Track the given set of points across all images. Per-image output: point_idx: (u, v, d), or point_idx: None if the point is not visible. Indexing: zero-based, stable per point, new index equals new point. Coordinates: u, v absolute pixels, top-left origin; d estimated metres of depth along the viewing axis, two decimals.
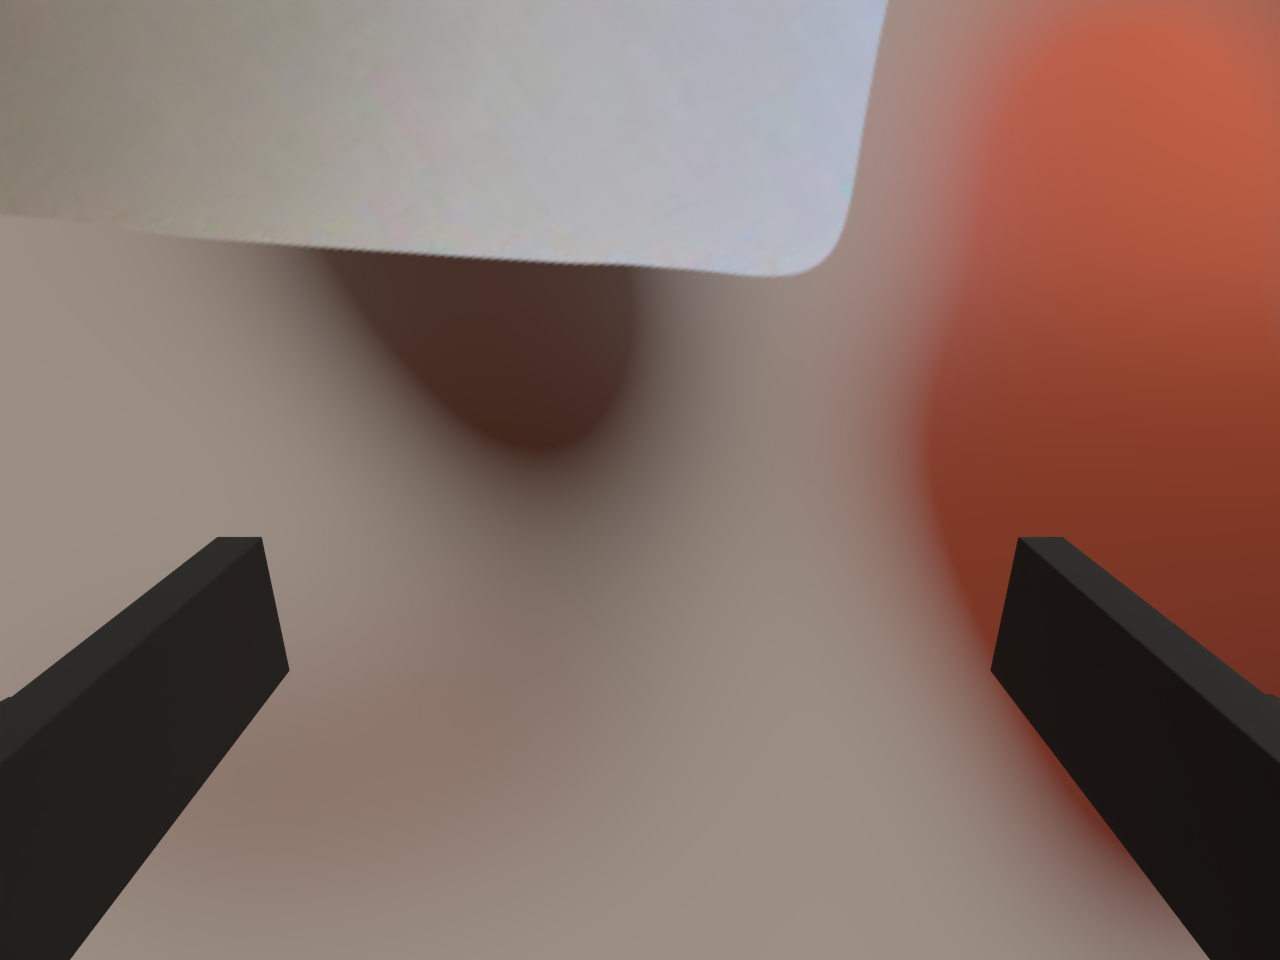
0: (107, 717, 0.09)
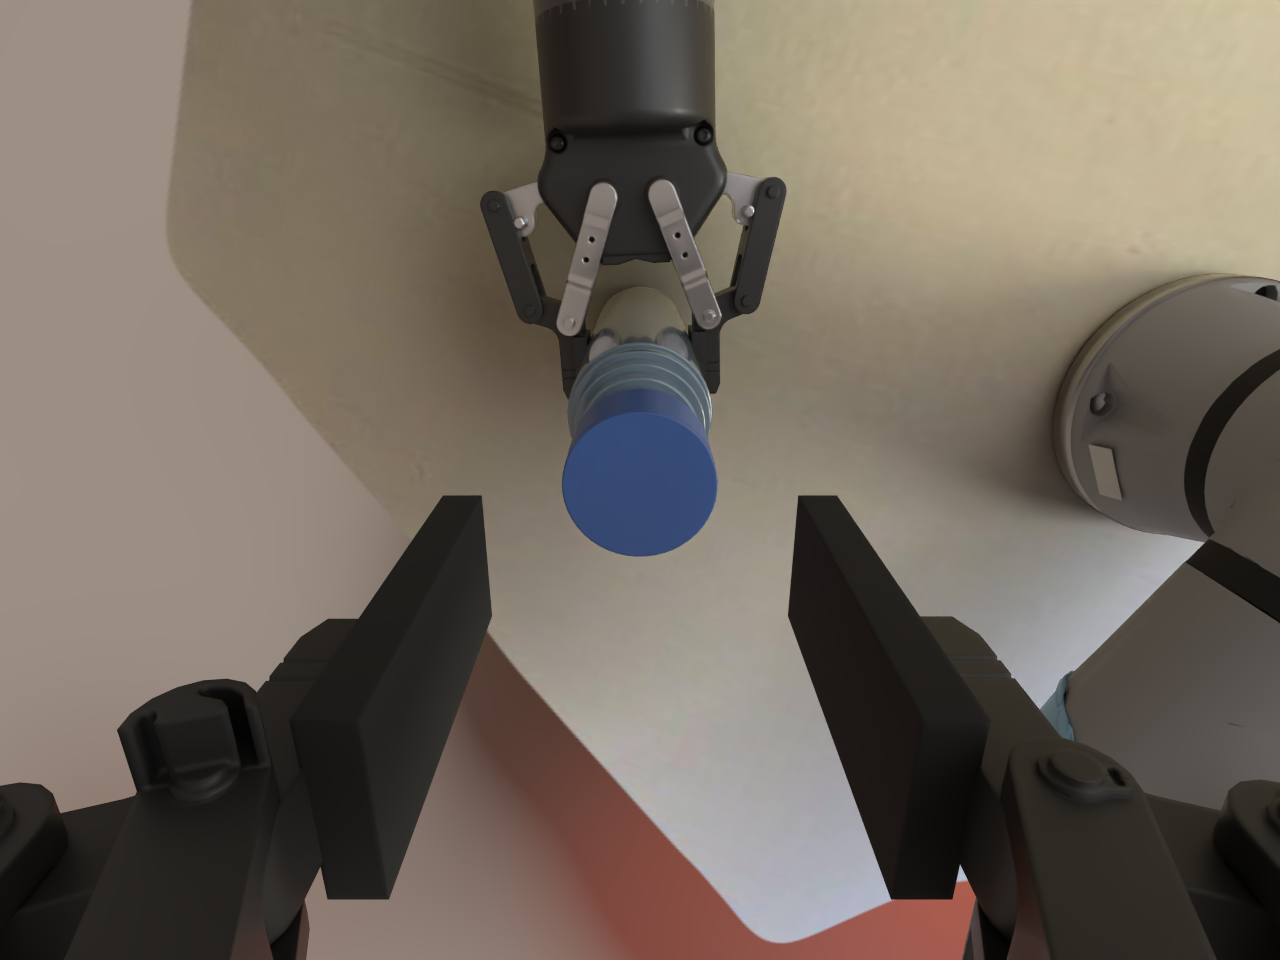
0: (428, 631, 0.10)
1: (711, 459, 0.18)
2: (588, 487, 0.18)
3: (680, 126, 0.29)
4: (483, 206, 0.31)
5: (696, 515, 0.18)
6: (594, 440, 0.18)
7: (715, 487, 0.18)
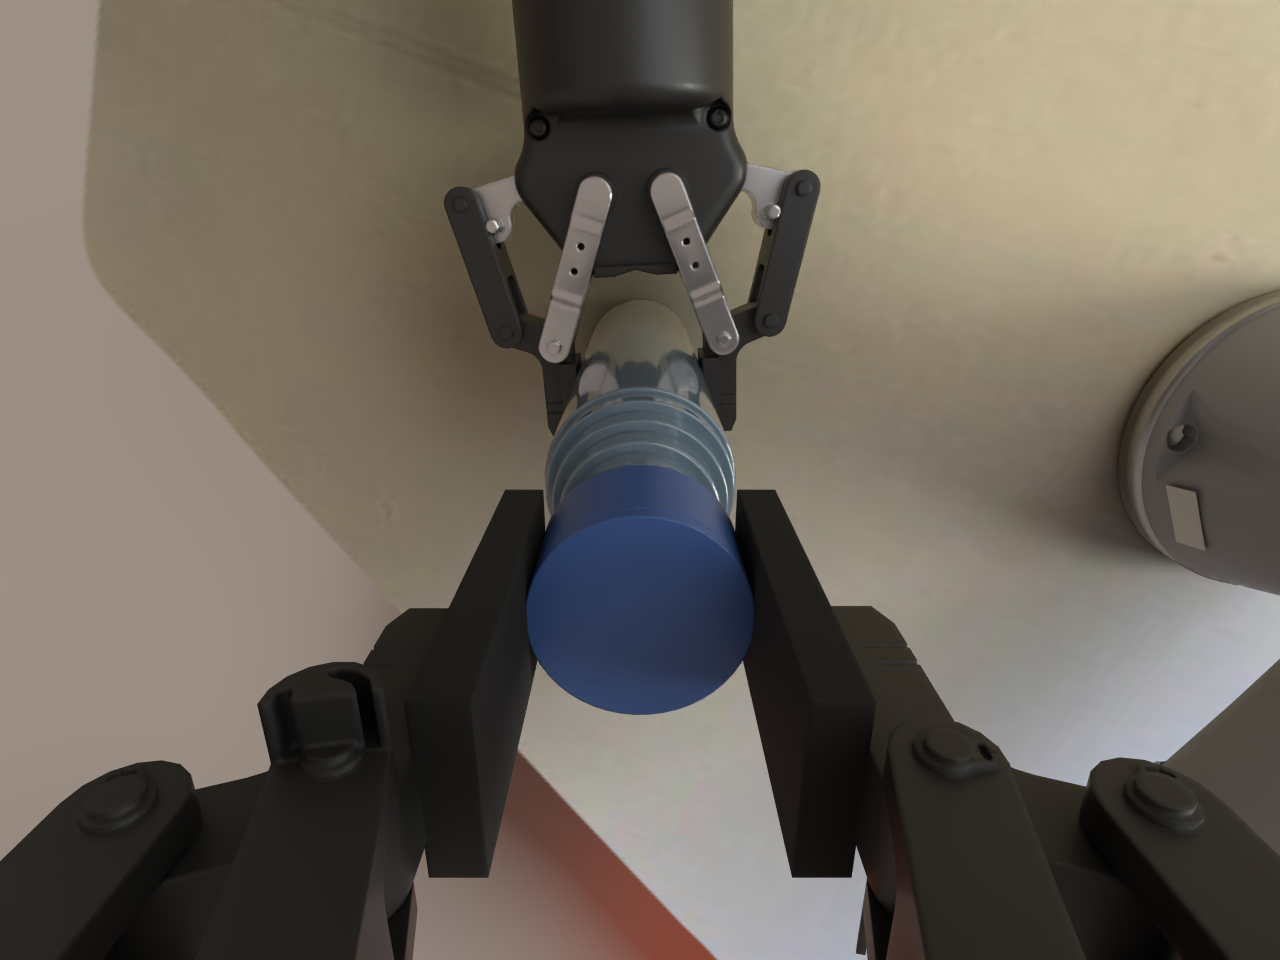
0: (511, 620, 0.11)
1: (747, 583, 0.12)
2: (564, 621, 0.12)
3: (690, 105, 0.23)
4: (447, 205, 0.26)
5: (723, 660, 0.12)
6: (572, 556, 0.12)
7: (752, 621, 0.12)
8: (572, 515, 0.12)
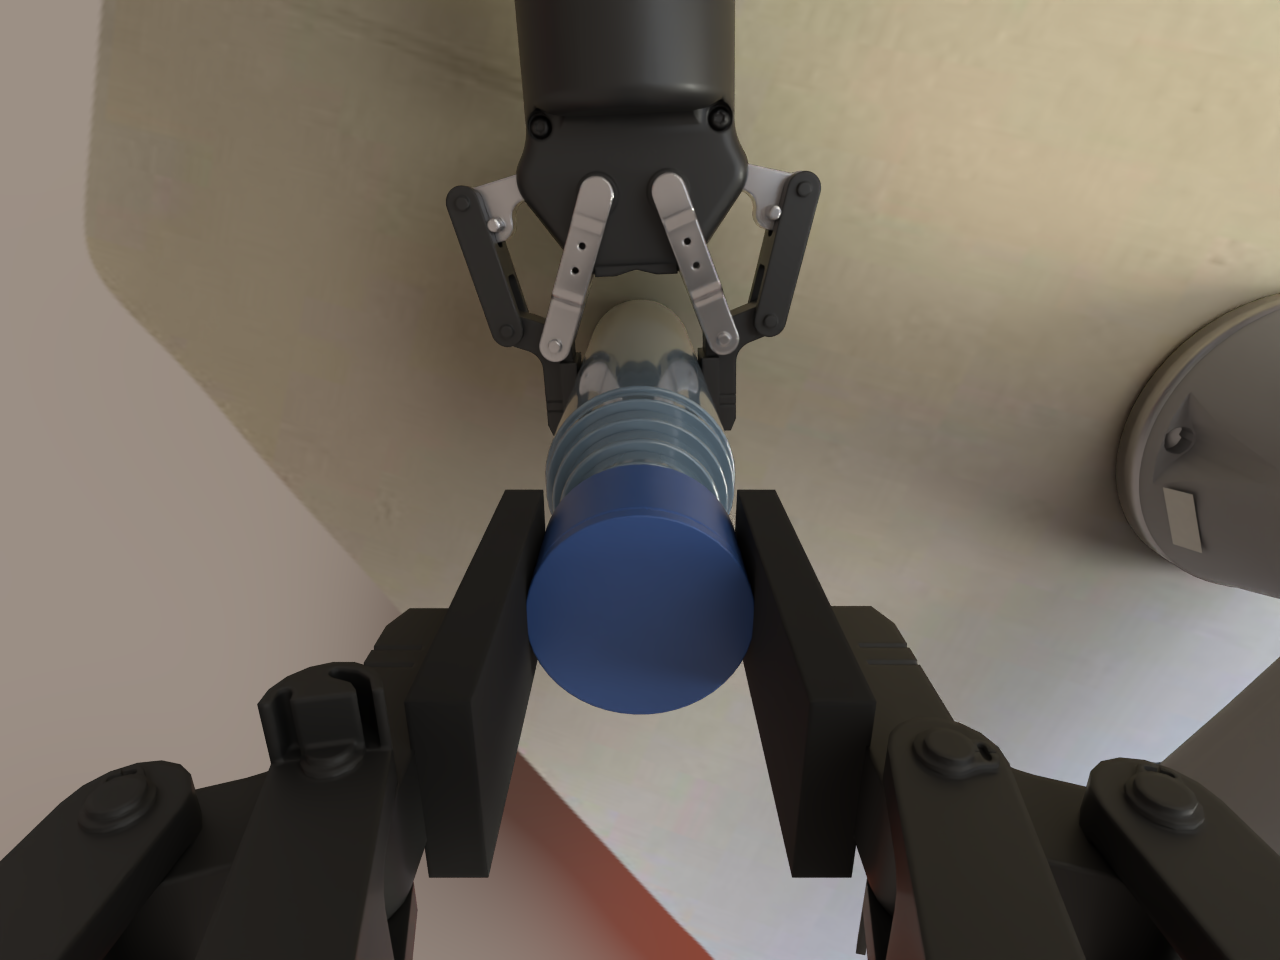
0: (511, 620, 0.11)
1: (594, 525, 0.11)
2: (640, 684, 0.13)
3: (692, 106, 0.23)
4: (449, 204, 0.26)
5: (687, 544, 0.12)
6: (569, 675, 0.13)
7: (641, 517, 0.11)
8: None
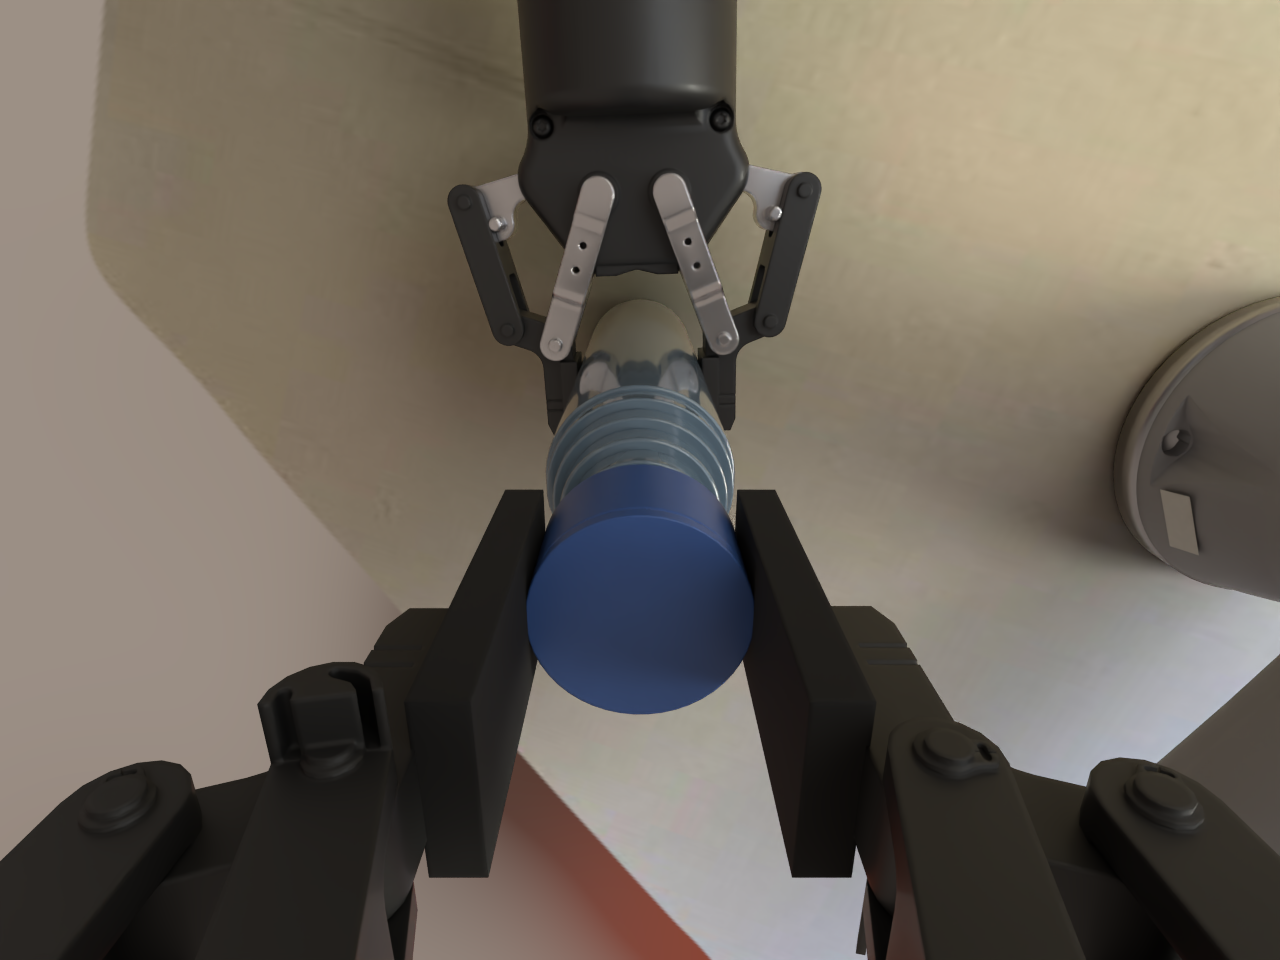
0: (511, 620, 0.11)
1: (537, 658, 0.12)
2: (716, 620, 0.12)
3: (694, 107, 0.23)
4: (451, 203, 0.26)
5: (553, 581, 0.12)
6: (703, 681, 0.13)
7: (528, 619, 0.12)
8: None
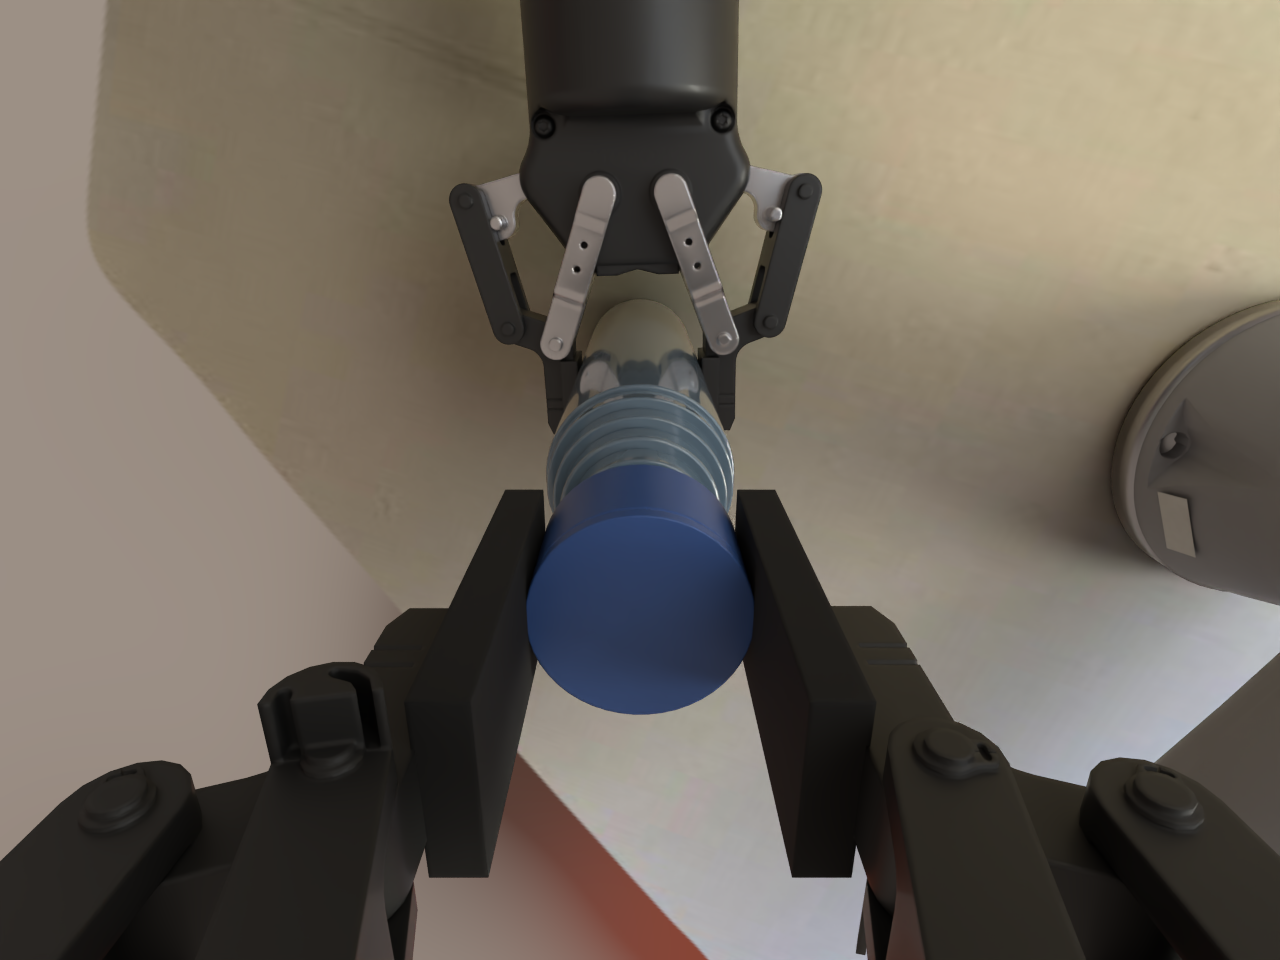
0: (511, 620, 0.11)
1: (681, 707, 0.13)
2: (640, 552, 0.12)
3: (695, 107, 0.24)
4: (452, 202, 0.26)
5: (596, 692, 0.13)
6: (715, 563, 0.12)
7: (638, 712, 0.13)
8: (728, 534, 0.13)
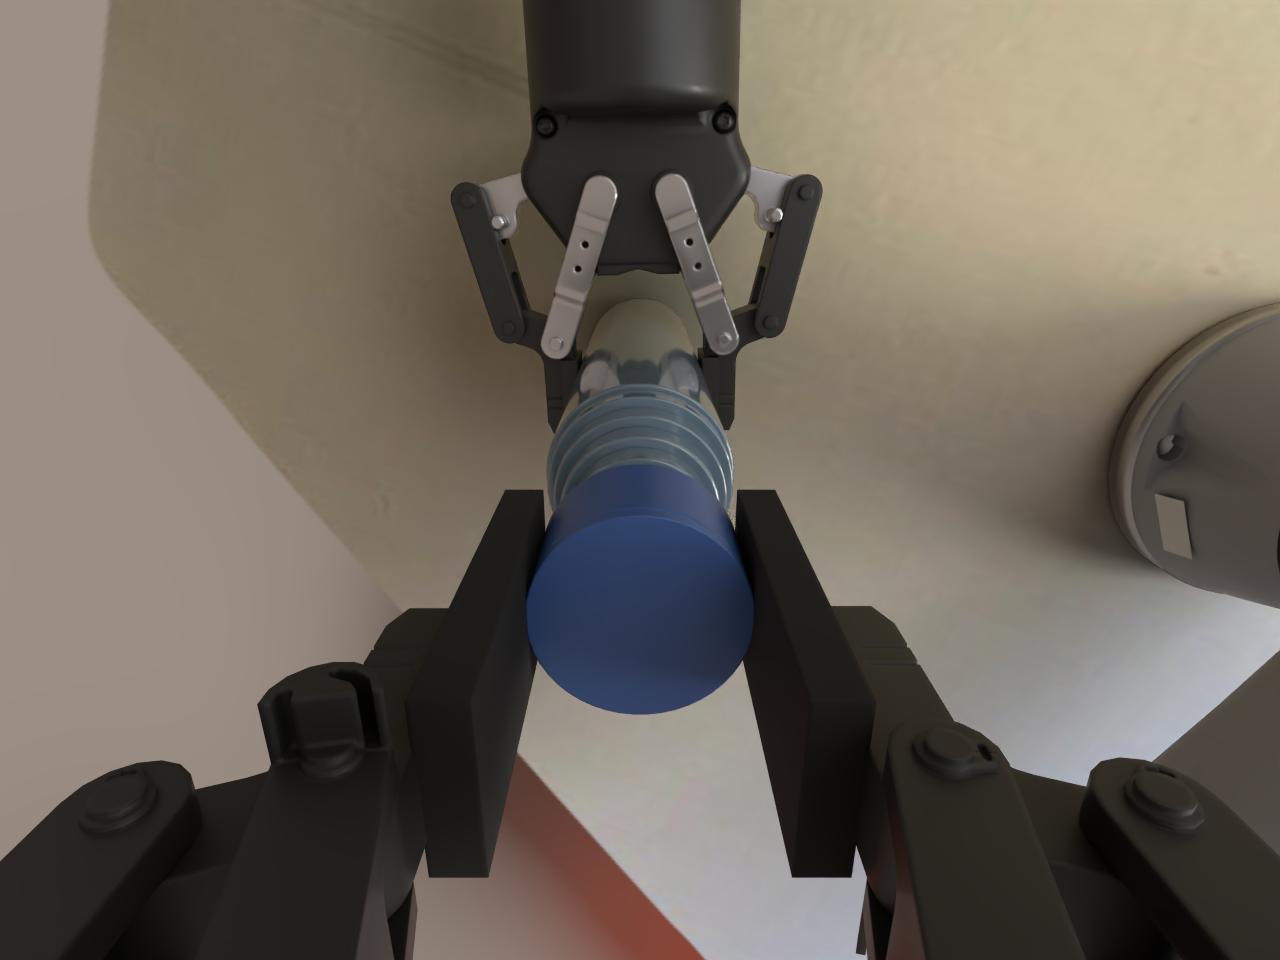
0: (511, 620, 0.11)
1: (747, 583, 0.12)
2: (564, 621, 0.12)
3: (697, 108, 0.24)
4: (454, 201, 0.26)
5: (723, 660, 0.12)
6: (572, 555, 0.12)
7: (752, 621, 0.12)
8: (573, 514, 0.12)
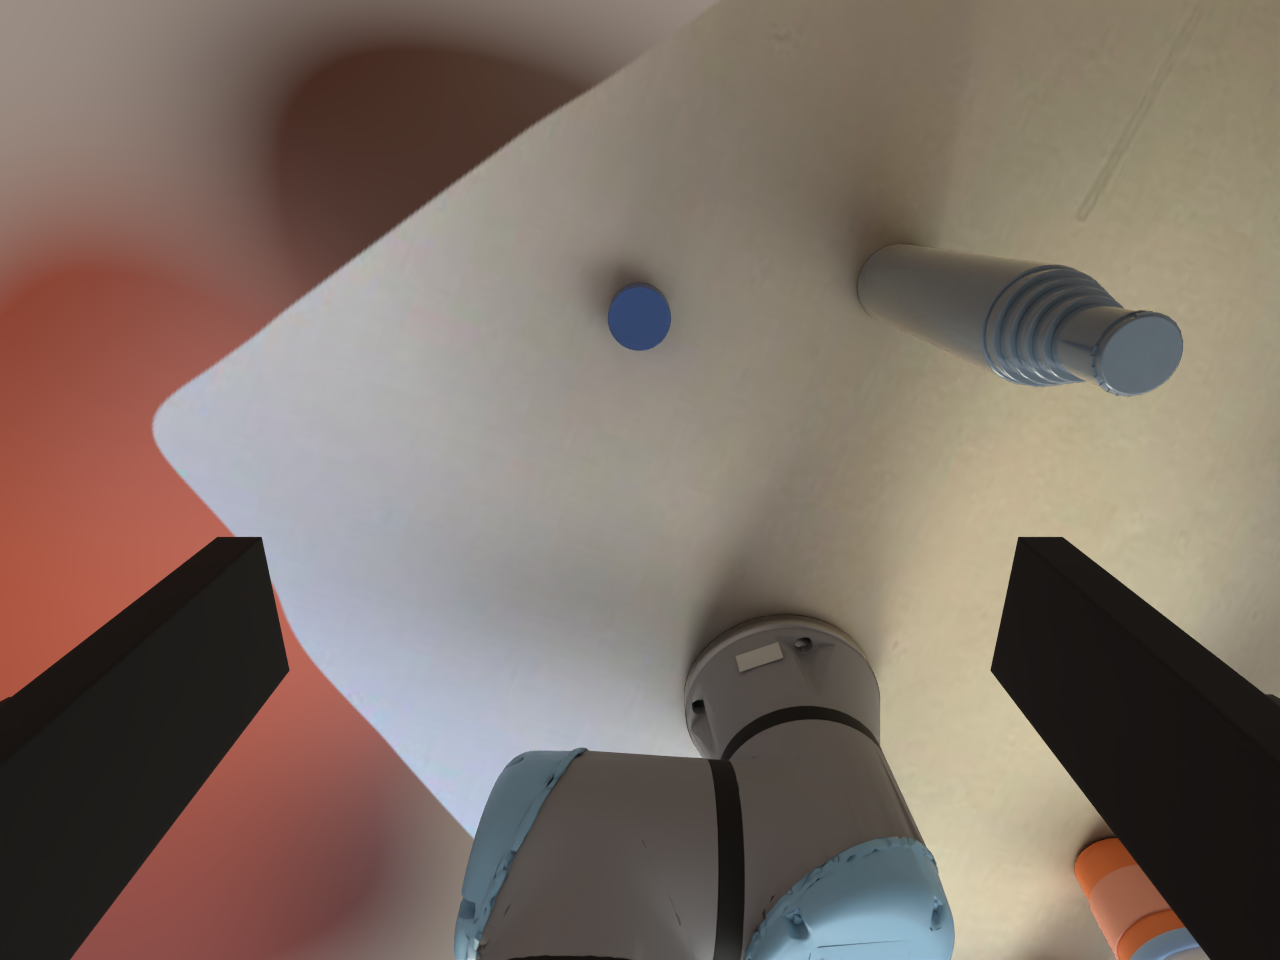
0: (107, 717, 0.09)
1: (668, 307, 0.44)
2: (618, 319, 0.45)
3: None
4: None
5: (662, 331, 0.45)
6: (621, 298, 0.44)
7: (669, 319, 0.45)
8: (620, 291, 0.45)
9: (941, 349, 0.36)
